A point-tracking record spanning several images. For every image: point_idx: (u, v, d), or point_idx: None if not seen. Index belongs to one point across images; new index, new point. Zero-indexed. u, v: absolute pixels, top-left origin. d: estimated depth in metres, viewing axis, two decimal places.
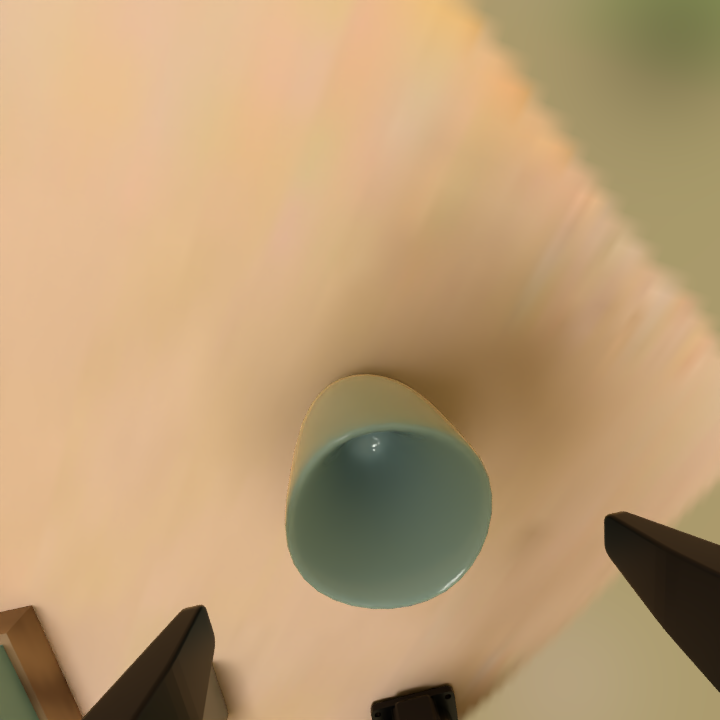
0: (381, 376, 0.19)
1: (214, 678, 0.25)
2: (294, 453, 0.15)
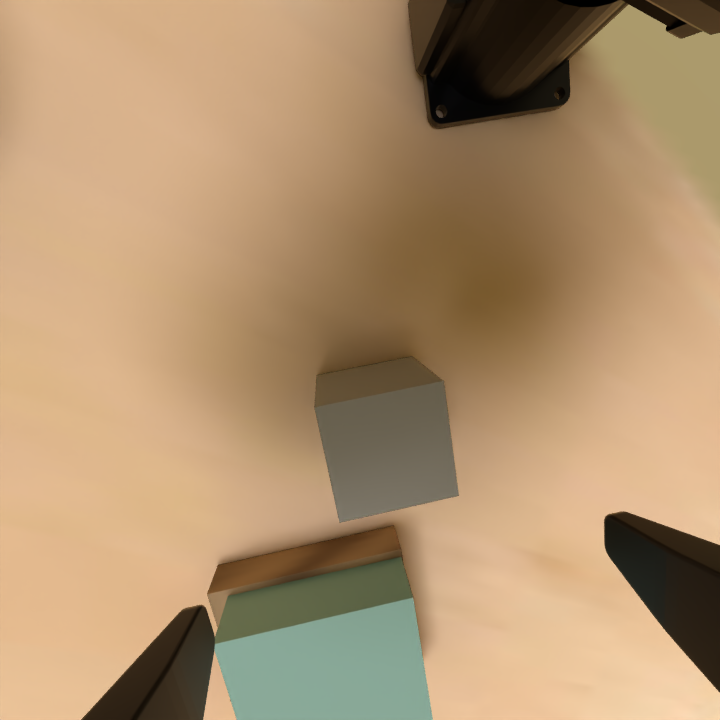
0: None
1: (342, 371, 0.18)
2: None
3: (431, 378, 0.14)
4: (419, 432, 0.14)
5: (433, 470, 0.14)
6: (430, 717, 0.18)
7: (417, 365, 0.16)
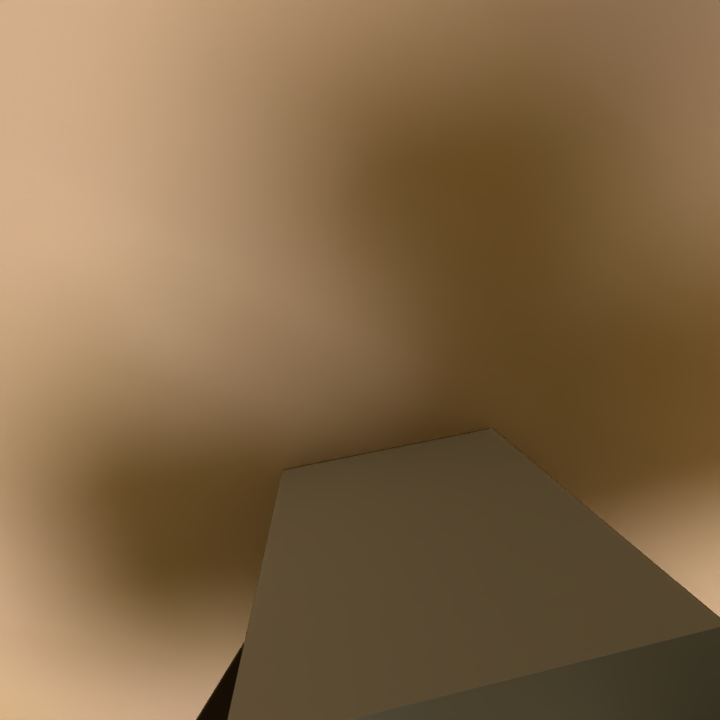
0: None
1: (342, 464, 0.08)
2: None
3: (646, 581, 0.04)
4: None
5: None
6: None
7: (533, 475, 0.06)
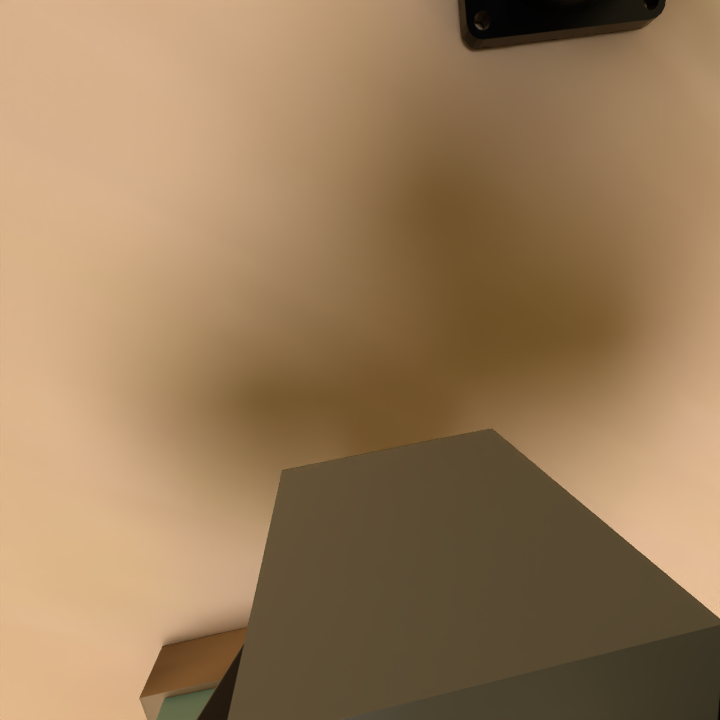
0: None
1: (341, 464, 0.08)
2: None
3: (644, 581, 0.04)
4: None
5: None
6: None
7: (532, 474, 0.06)
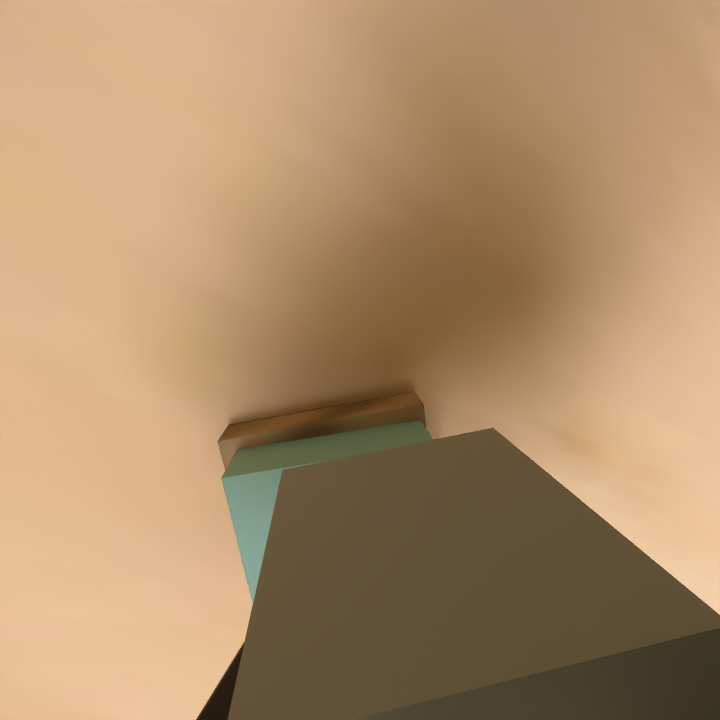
0: None
1: (341, 464, 0.08)
2: None
3: (648, 581, 0.04)
4: None
5: None
6: None
7: (534, 474, 0.06)
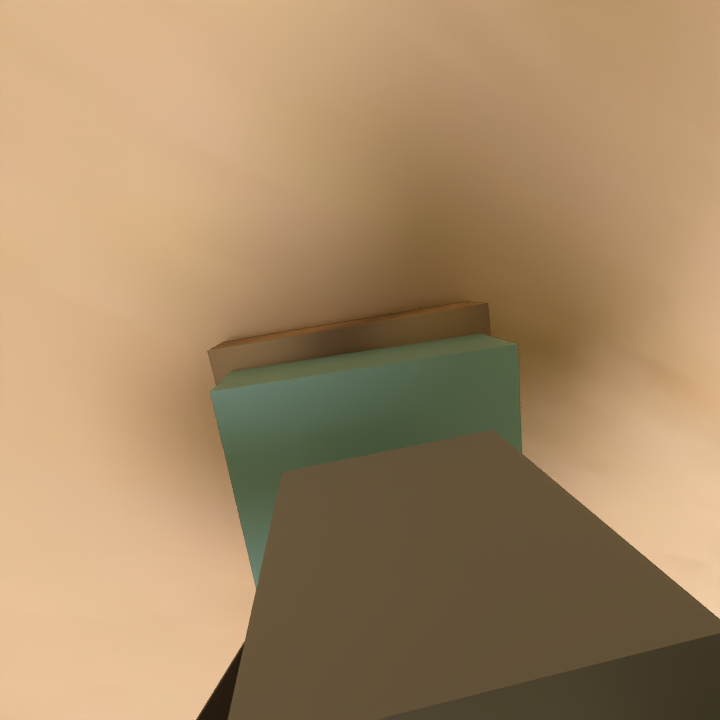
0: None
1: (341, 466, 0.08)
2: None
3: (649, 585, 0.04)
4: None
5: None
6: None
7: (534, 477, 0.06)
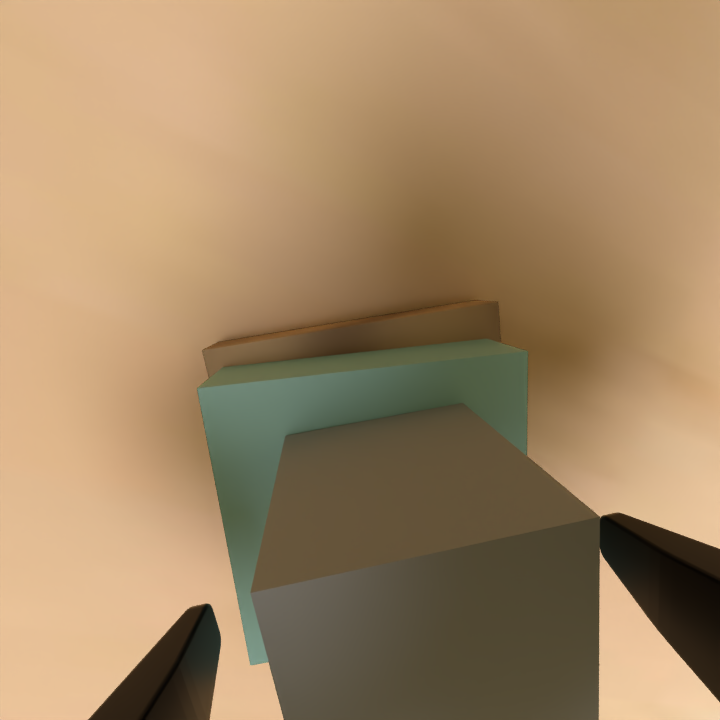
0: None
1: (335, 430, 0.09)
2: None
3: (553, 496, 0.06)
4: (524, 639, 0.05)
5: (546, 717, 0.06)
6: None
7: (488, 434, 0.08)
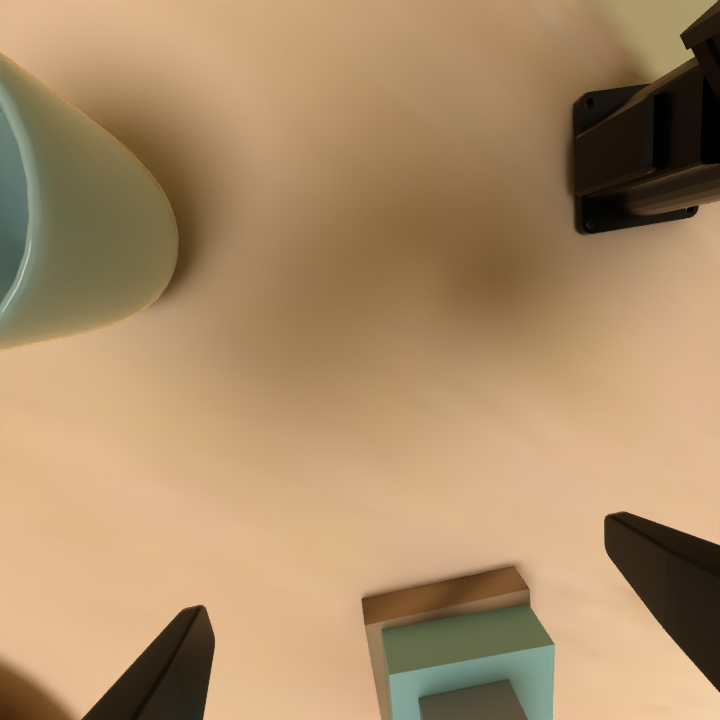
0: None
1: (444, 698, 0.18)
2: None
3: None
4: None
5: None
6: None
7: None
